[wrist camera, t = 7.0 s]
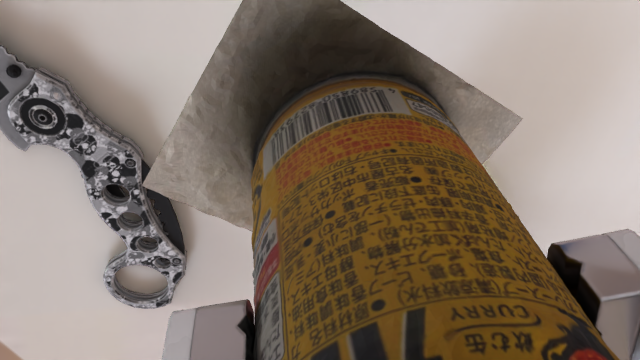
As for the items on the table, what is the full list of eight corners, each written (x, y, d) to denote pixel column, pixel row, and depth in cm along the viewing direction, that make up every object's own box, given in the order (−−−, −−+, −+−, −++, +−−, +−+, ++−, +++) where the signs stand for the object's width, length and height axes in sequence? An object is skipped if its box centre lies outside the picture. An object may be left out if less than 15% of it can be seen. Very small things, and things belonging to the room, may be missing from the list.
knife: (-212, -10, 26) (-52, -96, 25) (-189, -19, 28) (-35, -100, 26) (119, 323, 42) (231, 285, 40) (124, 308, 43) (233, 271, 42)
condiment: (375, 279, 18) (526, 805, 8) (142, 182, 15) (-62, 844, 5) (520, 114, 15) (1021, 627, 5) (268, -49, 12) (352, 460, 2)
